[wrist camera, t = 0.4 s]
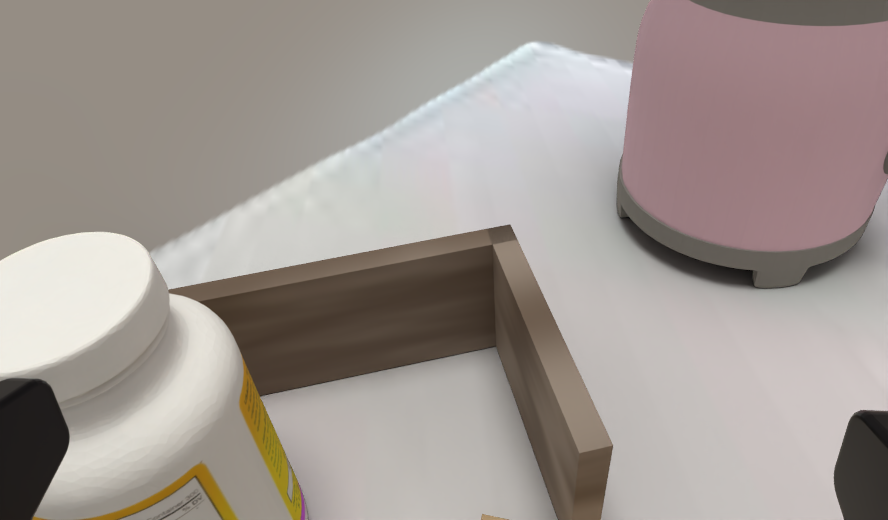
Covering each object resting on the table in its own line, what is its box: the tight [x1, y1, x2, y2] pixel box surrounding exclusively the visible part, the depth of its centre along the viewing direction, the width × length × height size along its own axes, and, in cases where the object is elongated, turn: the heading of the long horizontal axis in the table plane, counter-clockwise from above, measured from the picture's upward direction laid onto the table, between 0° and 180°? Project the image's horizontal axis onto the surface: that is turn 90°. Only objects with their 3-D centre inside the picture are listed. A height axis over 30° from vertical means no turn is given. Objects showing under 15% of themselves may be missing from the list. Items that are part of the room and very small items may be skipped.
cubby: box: [168, 225, 613, 520], centre depth 23 cm, size 10×26×6 cm, turn 102°
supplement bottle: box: [0, 232, 308, 520], centre depth 19 cm, size 7×7×13 cm
